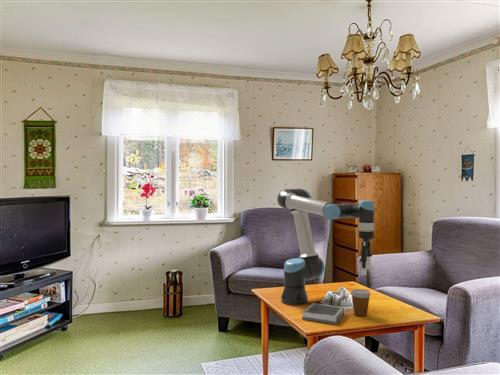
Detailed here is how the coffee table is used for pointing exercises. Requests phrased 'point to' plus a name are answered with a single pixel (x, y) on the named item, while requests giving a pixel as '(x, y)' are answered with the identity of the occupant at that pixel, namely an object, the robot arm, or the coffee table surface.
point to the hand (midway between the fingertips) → (365, 271)
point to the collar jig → (323, 313)
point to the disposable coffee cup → (360, 302)
